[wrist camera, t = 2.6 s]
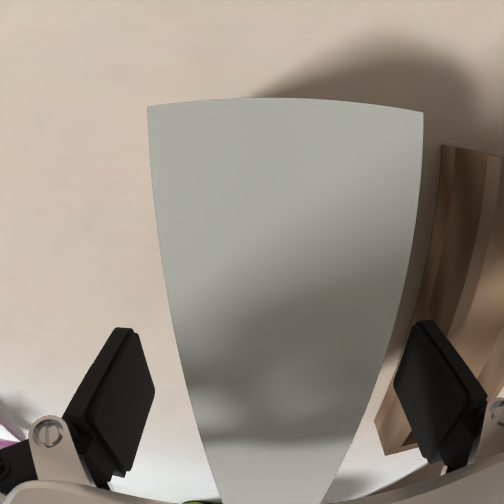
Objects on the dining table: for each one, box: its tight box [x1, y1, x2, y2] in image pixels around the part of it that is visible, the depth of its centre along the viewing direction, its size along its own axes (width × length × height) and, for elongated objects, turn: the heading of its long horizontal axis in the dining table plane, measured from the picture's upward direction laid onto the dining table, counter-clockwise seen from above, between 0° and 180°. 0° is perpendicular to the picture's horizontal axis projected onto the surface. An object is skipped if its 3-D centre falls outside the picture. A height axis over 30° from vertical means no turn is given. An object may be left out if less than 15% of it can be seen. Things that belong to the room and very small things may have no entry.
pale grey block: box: [147, 98, 423, 504], centre depth 10 cm, size 14×4×7 cm, turn 1°
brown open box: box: [374, 145, 504, 456], centre depth 12 cm, size 17×8×3 cm, turn 1°
